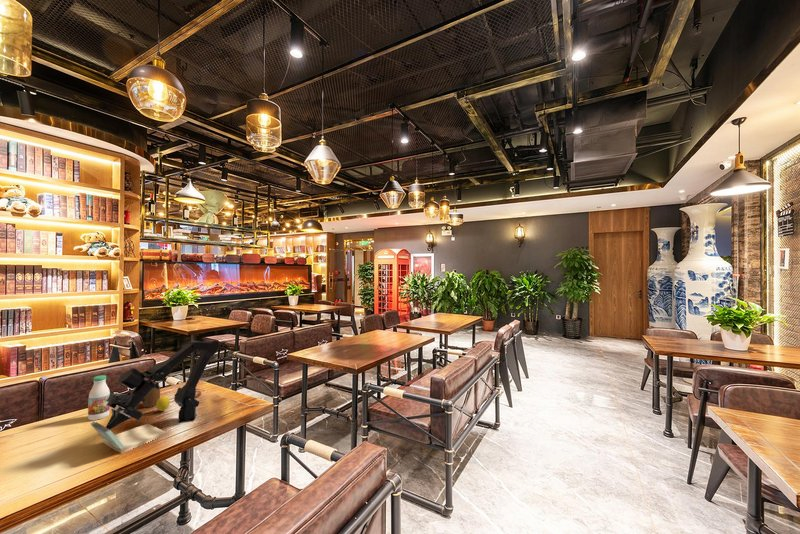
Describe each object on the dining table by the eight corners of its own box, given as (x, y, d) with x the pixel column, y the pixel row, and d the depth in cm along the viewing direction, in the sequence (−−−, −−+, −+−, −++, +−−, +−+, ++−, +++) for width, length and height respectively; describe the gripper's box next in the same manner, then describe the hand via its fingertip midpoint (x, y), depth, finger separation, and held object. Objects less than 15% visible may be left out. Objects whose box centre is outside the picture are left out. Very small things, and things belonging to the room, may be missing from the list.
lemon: (160, 409, 166) (161, 393, 166) (171, 409, 167) (172, 393, 167) (153, 413, 161) (153, 398, 161) (165, 413, 161) (165, 397, 161)
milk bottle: (84, 419, 154) (85, 377, 154) (104, 412, 161) (105, 373, 162) (93, 422, 151) (94, 380, 151) (112, 415, 158) (113, 375, 159)
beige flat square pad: (147, 426, 148) (147, 423, 148) (165, 435, 140) (166, 432, 140) (103, 442, 134) (103, 439, 134) (120, 453, 126) (120, 449, 126)
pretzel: (172, 401, 177) (172, 394, 177) (184, 393, 188) (184, 387, 188) (194, 400, 178) (194, 394, 178) (205, 393, 189) (205, 387, 189)
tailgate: (106, 435, 135) (94, 420, 131) (124, 445, 127) (111, 430, 123) (102, 438, 133) (89, 424, 130) (120, 449, 126) (107, 434, 122)
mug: (136, 412, 162) (137, 394, 162) (128, 409, 165) (129, 391, 165) (162, 403, 173) (163, 386, 173) (154, 401, 176) (155, 384, 176)
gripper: (112, 380, 137) (77, 416, 128) (133, 388, 129) (97, 428, 119) (134, 392, 144) (102, 427, 134) (155, 401, 135) (123, 439, 126)
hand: (105, 430), depth 128 cm, fingers closed, pressing on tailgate
